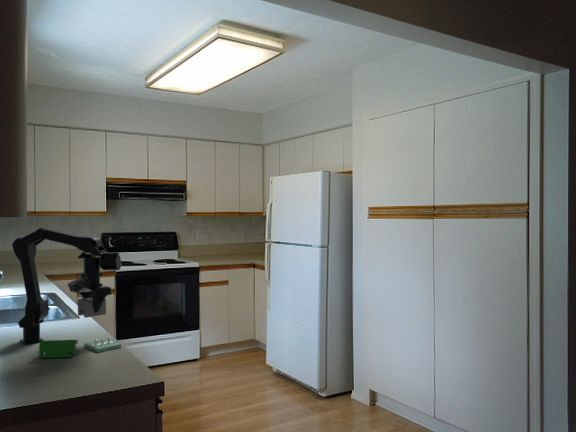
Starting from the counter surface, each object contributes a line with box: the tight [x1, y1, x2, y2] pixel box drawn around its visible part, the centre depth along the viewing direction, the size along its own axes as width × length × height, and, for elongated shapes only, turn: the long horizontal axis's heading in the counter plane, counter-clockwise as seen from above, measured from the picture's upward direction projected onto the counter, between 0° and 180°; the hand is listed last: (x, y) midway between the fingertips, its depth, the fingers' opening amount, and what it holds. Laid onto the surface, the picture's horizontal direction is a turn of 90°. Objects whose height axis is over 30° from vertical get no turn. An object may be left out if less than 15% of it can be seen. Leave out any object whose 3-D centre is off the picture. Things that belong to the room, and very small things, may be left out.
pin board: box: [83, 336, 122, 353], centre depth 183 cm, size 10×9×3 cm
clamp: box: [38, 339, 79, 359], centre depth 172 cm, size 12×6×9 cm, turn 95°
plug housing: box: [77, 297, 107, 319], centre depth 188 cm, size 6×8×6 cm
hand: (91, 311), depth 188 cm, fingers closed on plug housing, 6 cm apart
